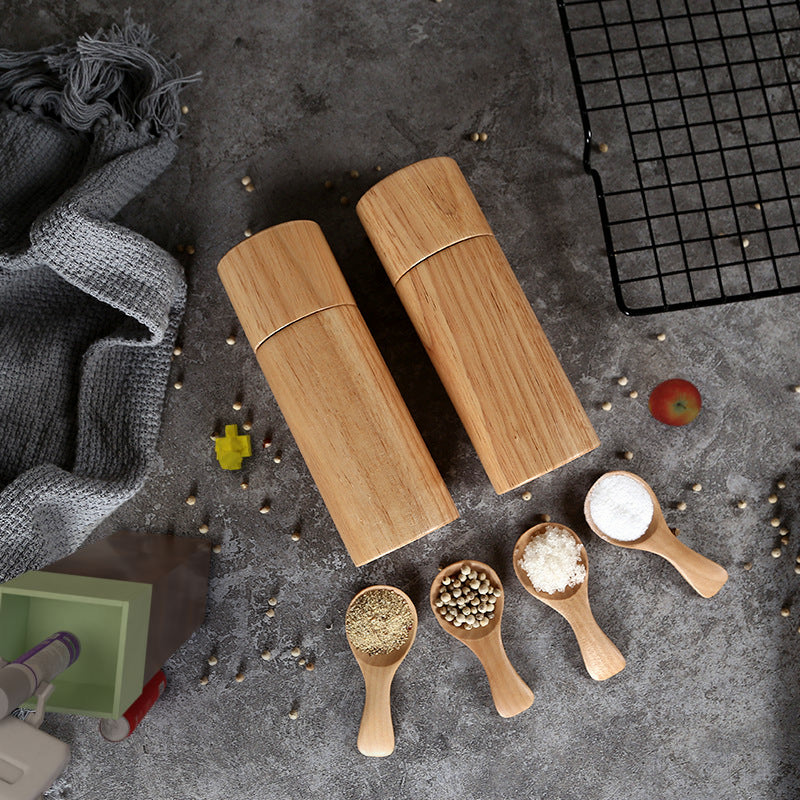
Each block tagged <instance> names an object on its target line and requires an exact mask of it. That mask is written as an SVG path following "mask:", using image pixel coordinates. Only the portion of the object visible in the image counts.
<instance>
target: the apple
mask: <svg viewBox="0 0 800 800" xmlns="http://www.w3.org/2000/svg"><path fill="white" fill-rule="evenodd" d="M702 401H703V400H702V396H701V392H700V390H699V389H698V387H696V385H695V384H693V383H692V382H691V381H689V380H687V379H684V378H679V377H678V378H677V377H676V378H670V379H666V380H664V381H662V382H660V383H659V384H658V385H656V387H654V389H653V390H652V391H651V393H650V395H649V397H648V400H647V408H648V411H649V413H650V415H651V416H652V417H653V419H655V420H656V421H658V422H660V423H662V424H664V425H666V426H670V427H682V426H686V425H688V424H690V423H692V422H693V421H695V419H696V418H697V417H698V416H699V415H700V412H701V409H702V404H703V403H702Z"/></svg>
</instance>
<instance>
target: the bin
mask: <svg viewBox="0 0 800 800" xmlns="http://www.w3.org/2000/svg"><path fill="white" fill-rule="evenodd" d="M151 595H152V584H145V583H136V582H127V581H119V580H110V579H102V578H93V577H85V576H76V575H67V574H59V573H50V572H42V571H37V570H31V569H30V570H28V571H26V572H24V573H21V574H19V575H17V576H16V577H13V578H11V579H9V580H7V581H5V582H3V583H0V657H2V658H4V659H6V660H8V661H10V662H13V661H14V660H16V659H17V658H19V657H20V656H22V655H23V654H25V653H26V652H28V651H29V650H31V649H32V648H34V647H35V646H36V645H38V644H39V643H41V642H42V641H44V640H45V639H47V638H48V637H50V636H51V635H53V634H54V633H56V632H59V631H69V632H71V633H73V634H75V635H76V636H77V638H78V639H79V641H80V643H81V654H80V656H79V658H78V659H77V660H76V661H75V662H74V663H73V664H72V665H70V666H69V667H68V668H67V669H65V670H64V671H63V672H62V673H60V674H59V675H58V676H57V677H55V678H54V679H53V680H52V681H50V683H52V684H54V685H55V687H56V688H55V690H54V692H53V693H52V694H51V696H50V697H49V698H48V700H47V701H46V707H45V712H49V713H50V712H51V713H58V714H66V715H75V716H81V717H91V718H99V719H101V718H106V719H114V720H118V719H119V718H120V717H121V716H122V715H123V713H124V712H125V711H126V710H127V709H128V708H129V707H130V706H131V705H132V704H133V702H134V701H135V700H136V699H137V698H138V697H139V696H140V695H141V694H142V688H143V677H144V667H145V657H146V647H147V636H148V626H149V616H150V605H151ZM37 702H38V698H36V697H35V696H34V695H33V696H32V697H30V698H29V699H28V700H27V701H25V702H24V703H22V704H21V705H20V706H18V707H17V708H18V709H25V710H33V711H36V708H37ZM17 708H16V709H17Z"/></svg>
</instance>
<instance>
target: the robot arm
mask: <svg viewBox="0 0 800 800" xmlns="http://www.w3.org/2000/svg"><path fill="white" fill-rule="evenodd" d="M10 663H11V662H10V661H8V660H6V659H4V658H2V657H0V670H1V669H3V668H4V667H5V666H7V665H8V664H10ZM55 688H56V687H55V685H54V684H52V683H50V682H48V681H46V680H43V681H42V682H41V683H40V686H39V687H37V688H36V690H35V691H34V696H35V697H36V698H38V702H37V708H36V710H35V712H33V711H30V712H28V714H27V715H26V717H25V718H24V719H23V720H22V719H20V718H19V717H17V716H16V715H13V714H11V713H9V714H8V715H6V716H5V717H4V718H2V719H1V720H0V800H43V799H44V796H45V794H46V792H47V791H49V789H50V788H51V786H53V785H54V783H55V782H56V781H57V780H58V778H59V777H60V776H61V774H62V773H63V771H64V770H65V769H66V768H67V766H69V764H70V762H71V757H72V756H71V748H70V746H69V744H68V743H67V742H65V741H63V740H61V739H59V738H57V737H55V736H53V735H52V734H49V733H48V732H45V731H44V730H41V729H40V726H42V724H43V722H44V720H45V714H46V713H45V712H46V711H45V707H46V701H47V700H48V698H49V697H50V696H51V694H52V693H53V692H54V690H55Z"/></svg>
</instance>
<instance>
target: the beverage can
mask: <svg viewBox="0 0 800 800" xmlns="http://www.w3.org/2000/svg"><path fill="white" fill-rule="evenodd" d="M167 682H168V681H167V677H166V675H165V672H163V670H161V669H160V670H159V671H158V672H157V673H156V674H155V675H154V676H153V677H152V678H151V679H150V681H149V682H148V683H147V684H146V685H145V686H144V687H143V688H142V694H141V695H140V696H139V697H138V698H137V699H136V700H135V701H134V702H133V704H132V705H131V706H130V707H129V708H128V709H127V710H126V711H125V712H124V713H123V715H122V716H121V717H120V718H119V719H118V720H114V719H106V718H100V721H99V723H98V731H99V734H100V736H101V737H102V738H103V739H104V740H105V741H107V742H109V743H112V744H113V743H114V744H115V743H120V742H123V741H124V740H127V739H128V738H129V737H131V735H132V734H133V733H134V732H135V730H136V729H137V728H138V726H139V725H140V724H141V722H142V721H143V720H144V718H145V717H146V716H147V715H148V713H149V711H150V710H151V709H152V708H153V706H154V705H155V703H156V702H157V701H158V699H160V696H161V695H162V694H163V693H164V691H165V689H166V687H167V684H168V683H167Z"/></svg>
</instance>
